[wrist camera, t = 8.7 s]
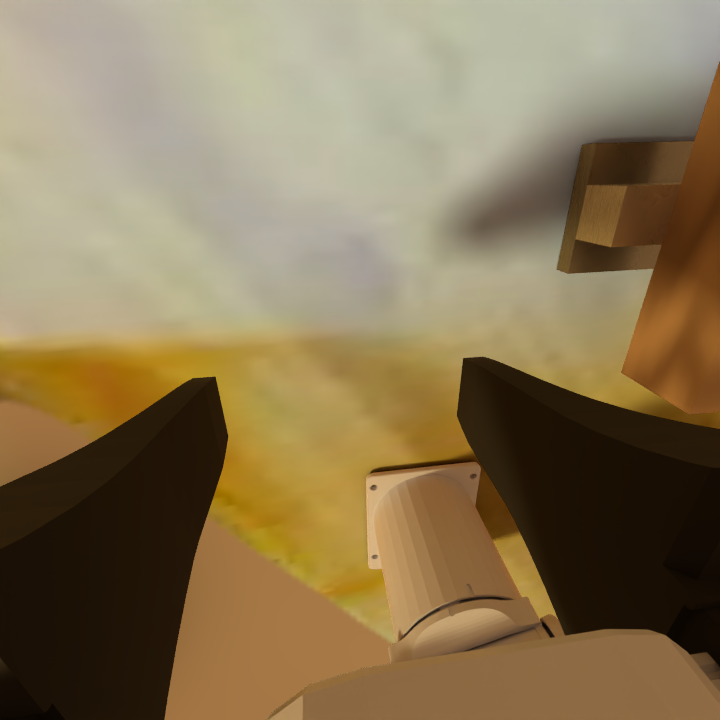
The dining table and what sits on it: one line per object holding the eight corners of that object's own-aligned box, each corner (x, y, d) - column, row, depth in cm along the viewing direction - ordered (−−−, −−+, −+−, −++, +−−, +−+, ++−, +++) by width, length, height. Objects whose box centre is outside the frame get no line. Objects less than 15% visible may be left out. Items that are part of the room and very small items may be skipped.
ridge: (687, 262, 22) (751, 276, 18) (556, 269, 21) (601, 285, 18) (729, 141, 19) (813, 134, 16) (582, 145, 18) (639, 138, 15)
